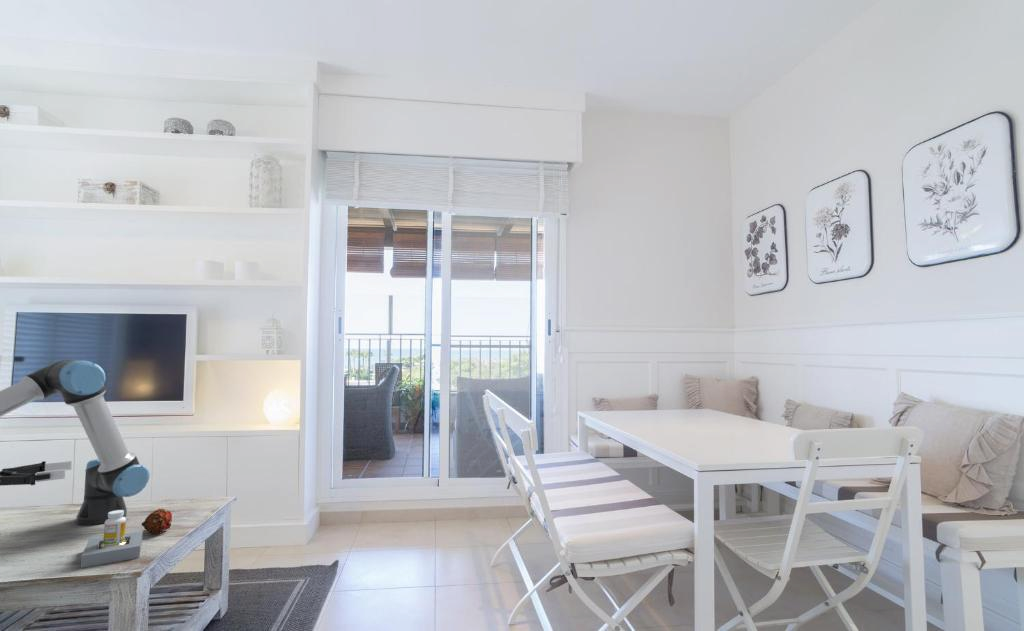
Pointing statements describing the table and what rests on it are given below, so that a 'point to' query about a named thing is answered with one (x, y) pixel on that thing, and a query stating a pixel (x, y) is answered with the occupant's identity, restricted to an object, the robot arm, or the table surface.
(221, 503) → the table surface
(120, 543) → the plunger disc
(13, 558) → the table surface
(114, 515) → the supplement bottle
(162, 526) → the dragon fruit
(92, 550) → the socket plate
